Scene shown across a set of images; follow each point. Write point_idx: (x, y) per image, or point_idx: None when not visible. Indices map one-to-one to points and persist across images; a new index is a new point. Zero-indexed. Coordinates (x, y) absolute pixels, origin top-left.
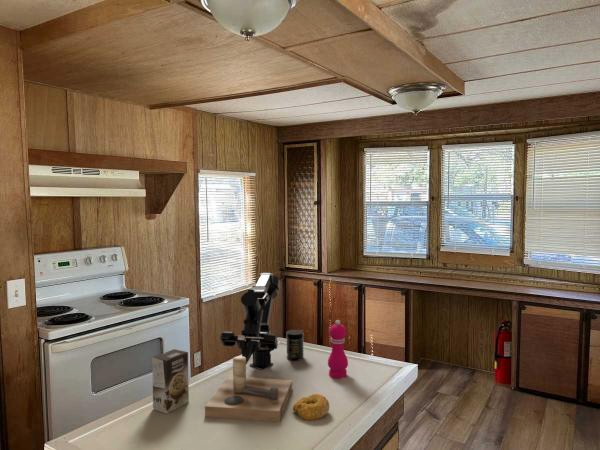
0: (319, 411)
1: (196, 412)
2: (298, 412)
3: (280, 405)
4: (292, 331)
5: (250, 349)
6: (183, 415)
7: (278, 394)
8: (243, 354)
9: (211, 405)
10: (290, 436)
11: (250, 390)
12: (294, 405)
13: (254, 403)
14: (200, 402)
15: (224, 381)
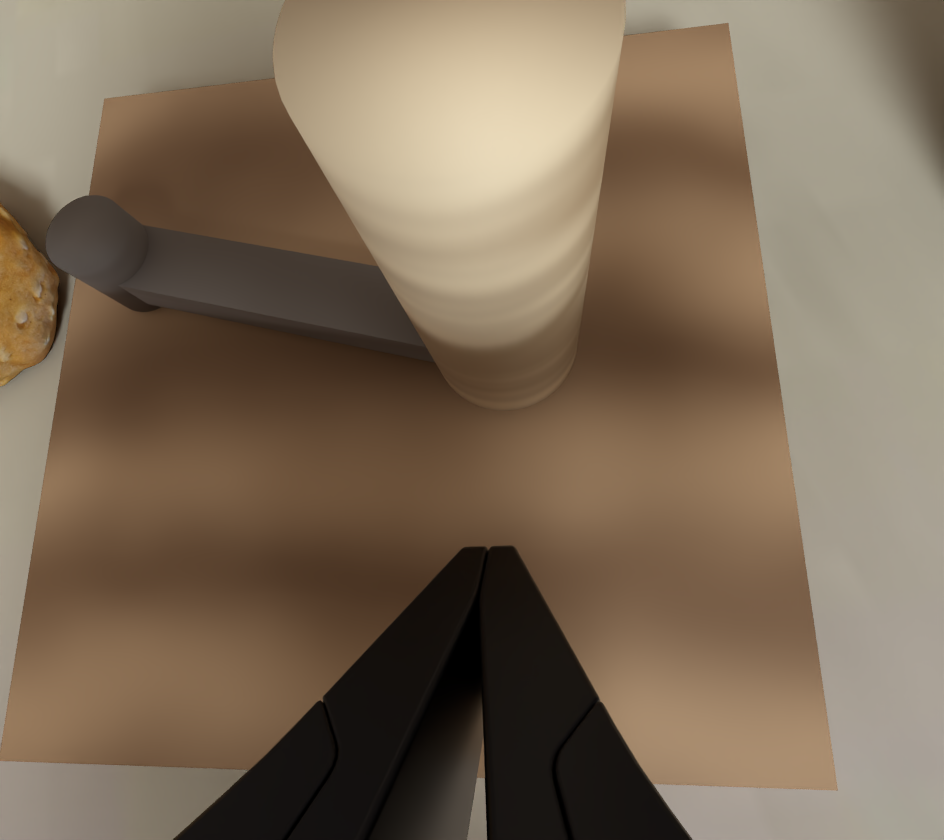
0: None
1: (807, 132)
2: (6, 211)
3: (97, 179)
4: None
5: (242, 780)
6: (888, 68)
7: (125, 370)
8: (521, 651)
9: (673, 47)
10: (85, 24)
11: (360, 267)
12: (4, 232)
13: (309, 163)
14: (875, 295)
15: (807, 604)
